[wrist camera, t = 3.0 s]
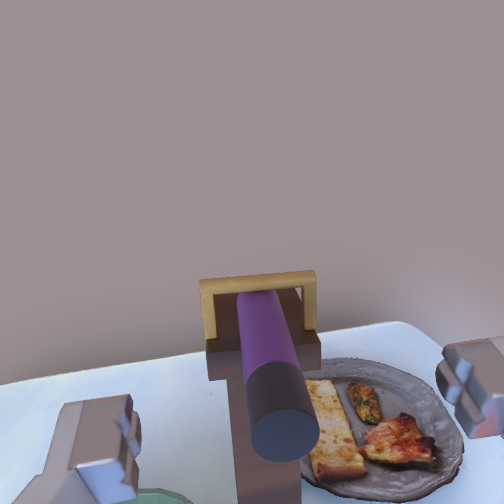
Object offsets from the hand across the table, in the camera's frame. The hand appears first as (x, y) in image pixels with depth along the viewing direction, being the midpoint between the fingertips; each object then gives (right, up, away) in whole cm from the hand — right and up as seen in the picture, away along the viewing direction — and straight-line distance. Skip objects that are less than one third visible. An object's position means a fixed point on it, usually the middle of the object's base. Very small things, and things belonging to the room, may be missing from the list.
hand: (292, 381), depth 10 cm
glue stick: (0, -3, +11) cm, 12 cm away
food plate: (+13, -20, +42) cm, 48 cm away
